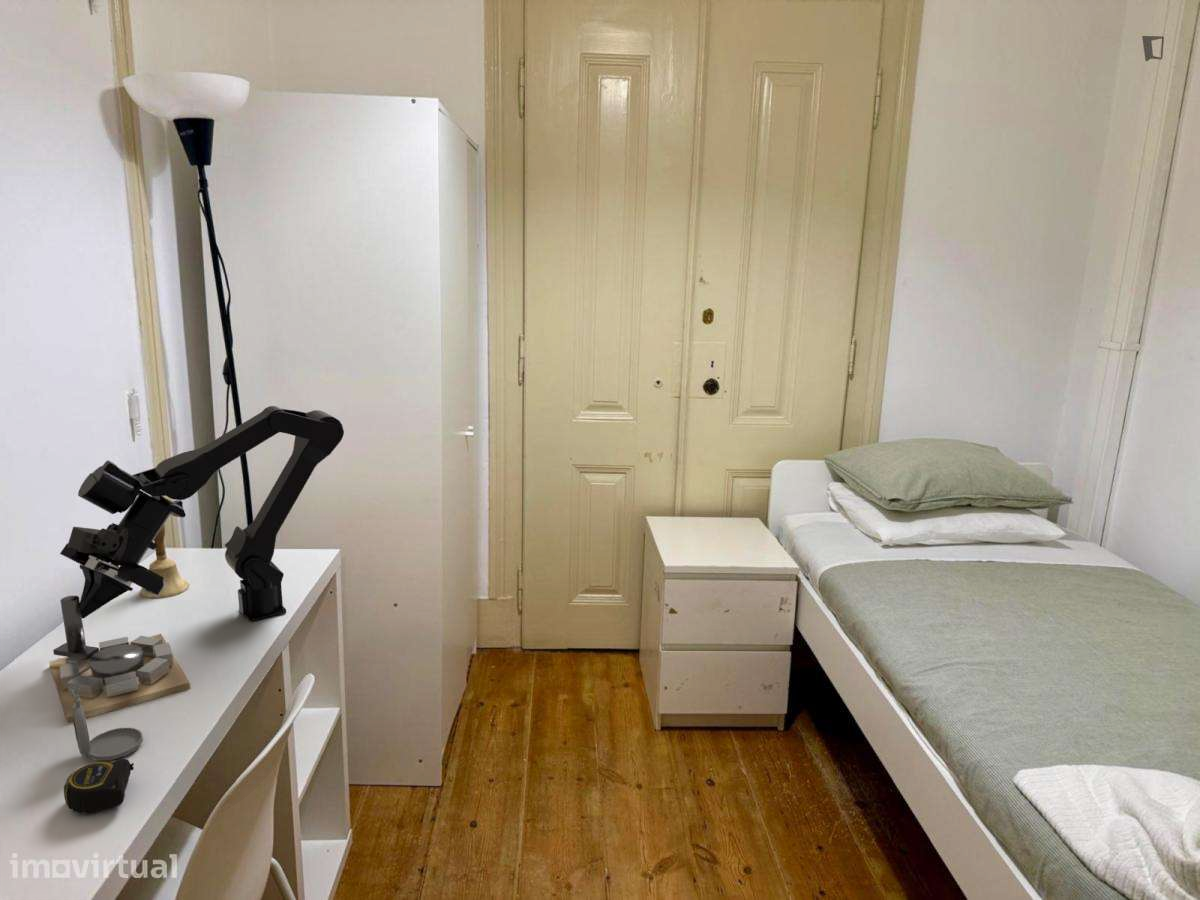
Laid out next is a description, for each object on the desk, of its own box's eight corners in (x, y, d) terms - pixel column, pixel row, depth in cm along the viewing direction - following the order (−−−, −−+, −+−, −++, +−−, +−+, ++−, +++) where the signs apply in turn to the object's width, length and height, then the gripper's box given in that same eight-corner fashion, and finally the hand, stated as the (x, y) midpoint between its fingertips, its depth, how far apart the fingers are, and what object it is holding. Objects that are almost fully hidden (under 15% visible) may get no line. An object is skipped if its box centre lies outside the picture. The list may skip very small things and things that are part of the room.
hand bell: (175, 599, 159) (166, 518, 154) (131, 597, 159) (121, 516, 154) (197, 581, 167) (189, 503, 162) (155, 579, 167) (146, 502, 162)
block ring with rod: (98, 640, 140) (89, 577, 137) (193, 654, 137) (186, 590, 134) (21, 686, 126) (9, 617, 123) (124, 703, 123) (115, 632, 120)
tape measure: (124, 814, 103) (121, 787, 102) (59, 824, 100) (55, 797, 100) (135, 779, 109) (132, 753, 108) (74, 788, 107) (70, 762, 106)
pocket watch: (154, 740, 117) (146, 674, 114) (101, 776, 109) (91, 706, 106) (108, 727, 119) (99, 662, 117) (53, 761, 112) (42, 693, 109)
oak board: (161, 639, 144) (160, 632, 143) (190, 688, 129) (189, 680, 129) (48, 667, 134) (47, 660, 134) (66, 723, 120) (64, 715, 119)
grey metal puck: (139, 657, 136) (137, 640, 135) (148, 675, 131) (146, 658, 130) (88, 670, 132) (86, 652, 131) (96, 690, 126) (94, 671, 126)
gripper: (64, 493, 136) (0, 582, 130) (137, 518, 127) (73, 614, 121) (117, 524, 145) (61, 608, 139) (189, 549, 136) (132, 640, 130)
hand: (79, 617), depth 132 cm, fingers closed, pressing on block ring with rod
